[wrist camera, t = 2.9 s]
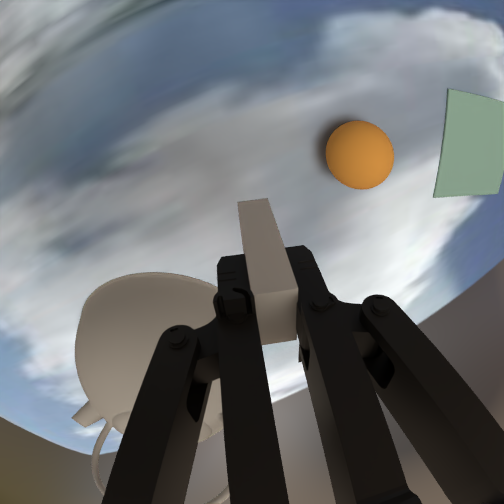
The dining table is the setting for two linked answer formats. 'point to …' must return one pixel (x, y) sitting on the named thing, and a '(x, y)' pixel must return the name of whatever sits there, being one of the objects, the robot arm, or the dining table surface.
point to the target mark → (471, 146)
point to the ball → (359, 155)
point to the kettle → (136, 347)
